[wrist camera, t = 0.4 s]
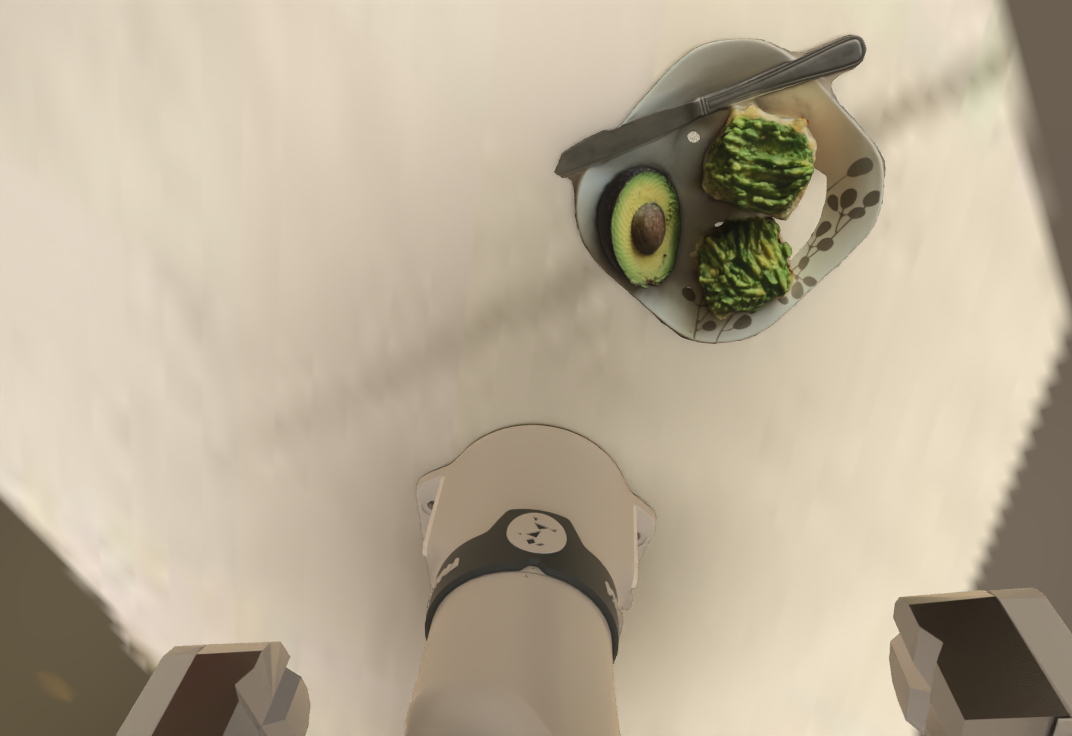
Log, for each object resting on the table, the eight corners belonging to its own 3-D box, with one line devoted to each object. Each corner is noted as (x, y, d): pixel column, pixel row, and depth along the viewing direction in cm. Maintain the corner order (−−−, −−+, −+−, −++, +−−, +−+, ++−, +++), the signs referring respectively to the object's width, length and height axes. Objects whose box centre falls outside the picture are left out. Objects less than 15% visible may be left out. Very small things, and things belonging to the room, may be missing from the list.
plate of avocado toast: (759, -70, 39) (780, -83, 35) (953, 158, 43) (992, 171, 39) (525, 191, 46) (518, 206, 42) (712, 365, 50) (723, 394, 46)
